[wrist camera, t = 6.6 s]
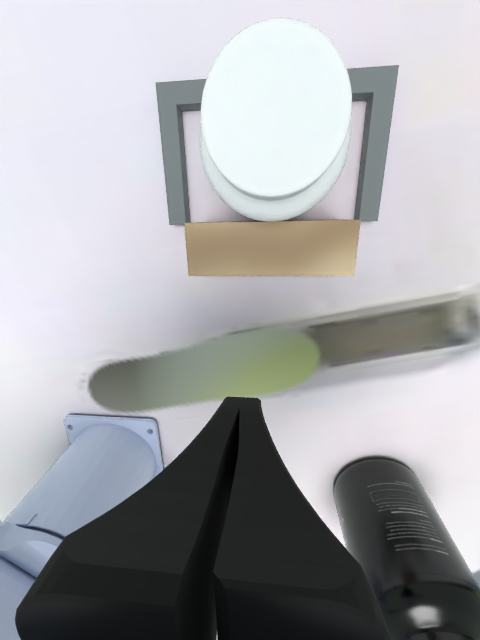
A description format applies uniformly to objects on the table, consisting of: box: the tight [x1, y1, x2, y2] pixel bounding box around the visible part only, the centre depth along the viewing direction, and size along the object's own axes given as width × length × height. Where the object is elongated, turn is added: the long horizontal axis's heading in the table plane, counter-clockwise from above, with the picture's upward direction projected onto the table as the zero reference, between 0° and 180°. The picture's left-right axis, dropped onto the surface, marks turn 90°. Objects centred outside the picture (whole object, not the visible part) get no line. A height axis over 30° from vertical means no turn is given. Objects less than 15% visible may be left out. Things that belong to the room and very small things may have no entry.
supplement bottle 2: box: [334, 459, 480, 640], centre depth 18 cm, size 7×7×12 cm
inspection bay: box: [156, 65, 399, 225], centre depth 16 cm, size 7×12×1 cm, turn 91°
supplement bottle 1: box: [200, 18, 352, 222], centre depth 12 cm, size 5×5×10 cm
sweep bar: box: [184, 219, 360, 276], centre depth 15 cm, size 2×8×4 cm, turn 91°
